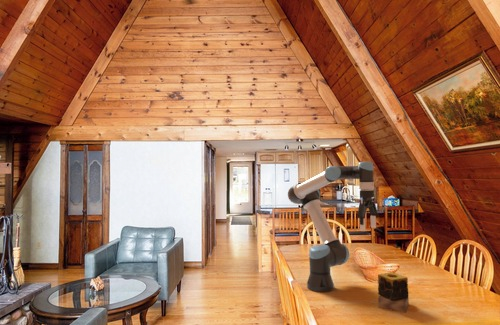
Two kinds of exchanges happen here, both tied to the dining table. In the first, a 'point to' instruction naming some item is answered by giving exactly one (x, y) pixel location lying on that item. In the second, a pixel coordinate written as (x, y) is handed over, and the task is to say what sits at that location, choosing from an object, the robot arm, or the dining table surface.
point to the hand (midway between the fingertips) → (368, 229)
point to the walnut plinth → (393, 304)
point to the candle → (393, 286)
